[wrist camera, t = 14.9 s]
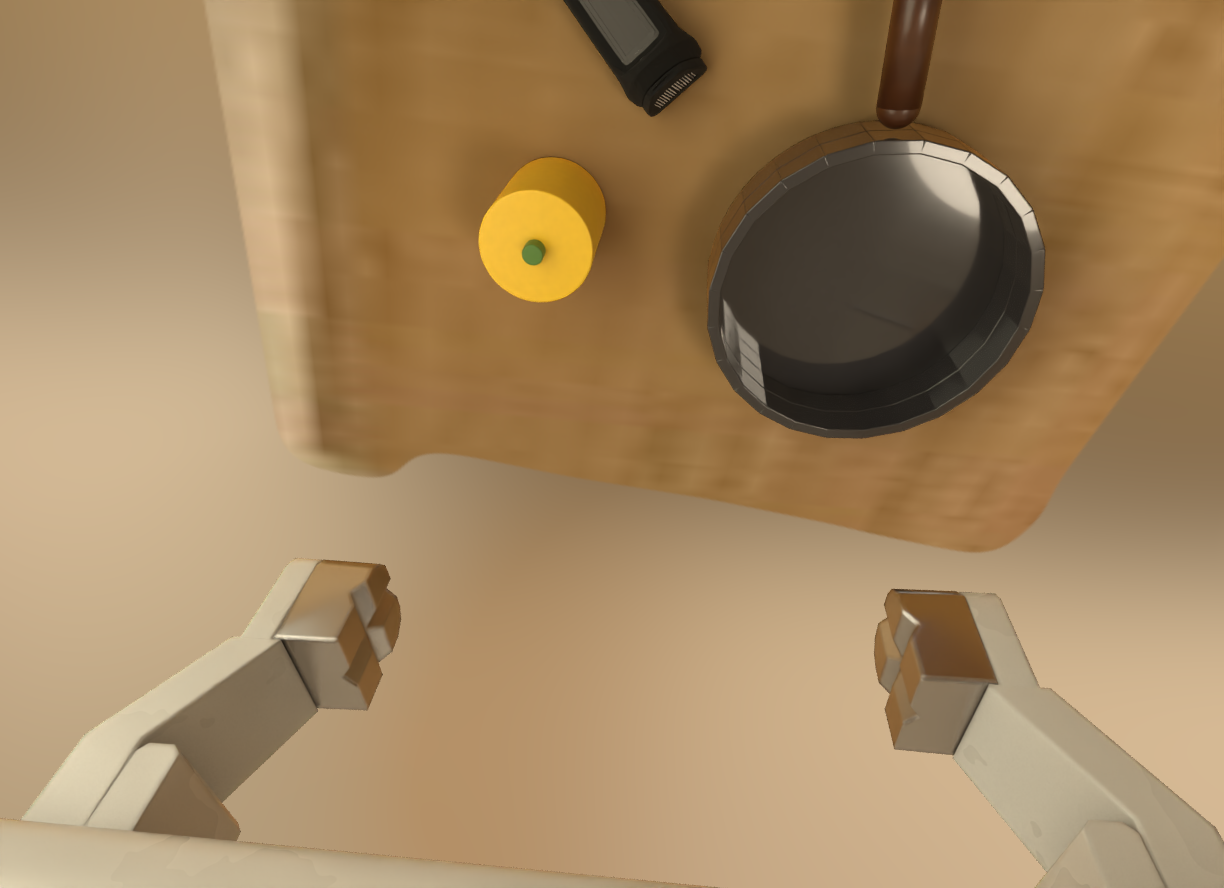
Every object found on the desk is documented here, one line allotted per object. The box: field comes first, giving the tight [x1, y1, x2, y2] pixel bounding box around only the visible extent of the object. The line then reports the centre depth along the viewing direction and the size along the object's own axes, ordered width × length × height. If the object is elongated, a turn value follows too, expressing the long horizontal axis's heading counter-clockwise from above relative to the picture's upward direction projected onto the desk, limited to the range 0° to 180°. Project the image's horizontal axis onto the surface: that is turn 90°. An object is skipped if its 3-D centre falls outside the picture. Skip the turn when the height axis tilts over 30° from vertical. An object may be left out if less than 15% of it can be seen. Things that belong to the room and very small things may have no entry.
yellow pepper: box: [479, 157, 606, 302], centre depth 34 cm, size 5×5×6 cm
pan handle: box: [876, 0, 942, 129], centre depth 28 cm, size 9×2×2 cm, turn 3°
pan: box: [707, 120, 1045, 438], centre depth 36 cm, size 16×16×4 cm
